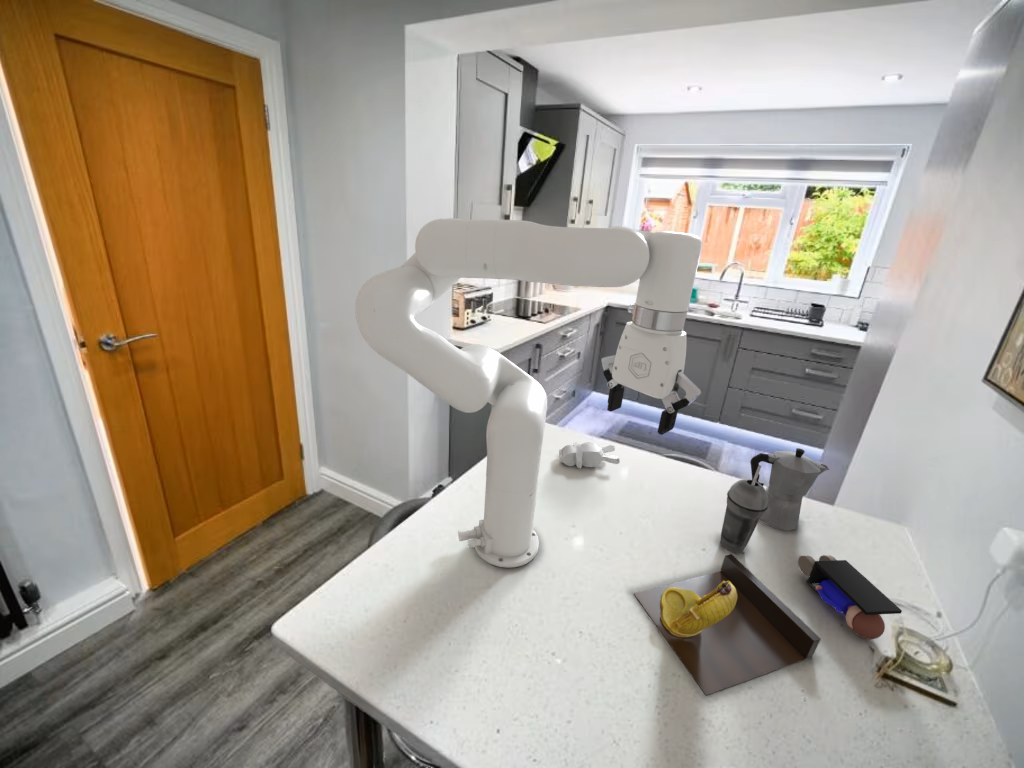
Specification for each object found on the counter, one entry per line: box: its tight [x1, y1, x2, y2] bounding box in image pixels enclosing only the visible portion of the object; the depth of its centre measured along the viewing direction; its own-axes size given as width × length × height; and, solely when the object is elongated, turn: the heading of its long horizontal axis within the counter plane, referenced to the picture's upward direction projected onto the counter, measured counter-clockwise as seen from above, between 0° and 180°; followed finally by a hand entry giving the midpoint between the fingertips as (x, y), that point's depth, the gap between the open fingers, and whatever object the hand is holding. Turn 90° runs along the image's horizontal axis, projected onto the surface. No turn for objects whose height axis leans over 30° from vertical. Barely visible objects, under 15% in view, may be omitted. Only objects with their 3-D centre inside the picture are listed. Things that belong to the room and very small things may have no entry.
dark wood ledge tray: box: [633, 553, 822, 696], centre depth 71 cm, size 21×18×4 cm
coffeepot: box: [750, 447, 830, 531], centre depth 96 cm, size 15×9×18 cm, turn 79°
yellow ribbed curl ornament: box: [660, 581, 737, 639], centre depth 67 cm, size 12×8×15 cm
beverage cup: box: [719, 464, 768, 555], centre depth 86 cm, size 7×7×20 cm
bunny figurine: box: [558, 441, 621, 469], centre depth 114 cm, size 10×5×15 cm
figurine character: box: [797, 554, 903, 640], centre depth 76 cm, size 7×8×15 cm
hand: (637, 420), depth 72 cm, fingers open, 9 cm apart
